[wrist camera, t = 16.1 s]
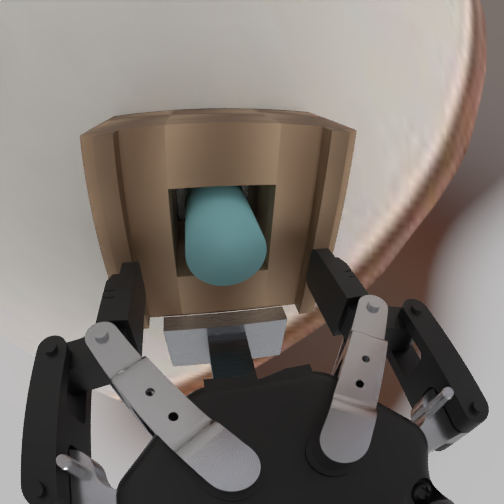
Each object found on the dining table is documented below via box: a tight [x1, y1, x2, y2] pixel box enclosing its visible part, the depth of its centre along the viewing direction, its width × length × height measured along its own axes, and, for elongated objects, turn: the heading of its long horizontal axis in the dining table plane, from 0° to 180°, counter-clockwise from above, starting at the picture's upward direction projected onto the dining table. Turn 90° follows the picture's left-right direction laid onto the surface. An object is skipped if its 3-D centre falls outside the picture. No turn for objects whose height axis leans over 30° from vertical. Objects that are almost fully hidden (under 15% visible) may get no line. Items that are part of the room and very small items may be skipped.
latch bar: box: [164, 307, 287, 379], centre depth 17 cm, size 8×4×6 cm, turn 87°
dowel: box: [185, 185, 267, 286], centre depth 18 cm, size 4×4×9 cm
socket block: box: [80, 108, 356, 329], centre depth 18 cm, size 14×12×8 cm
